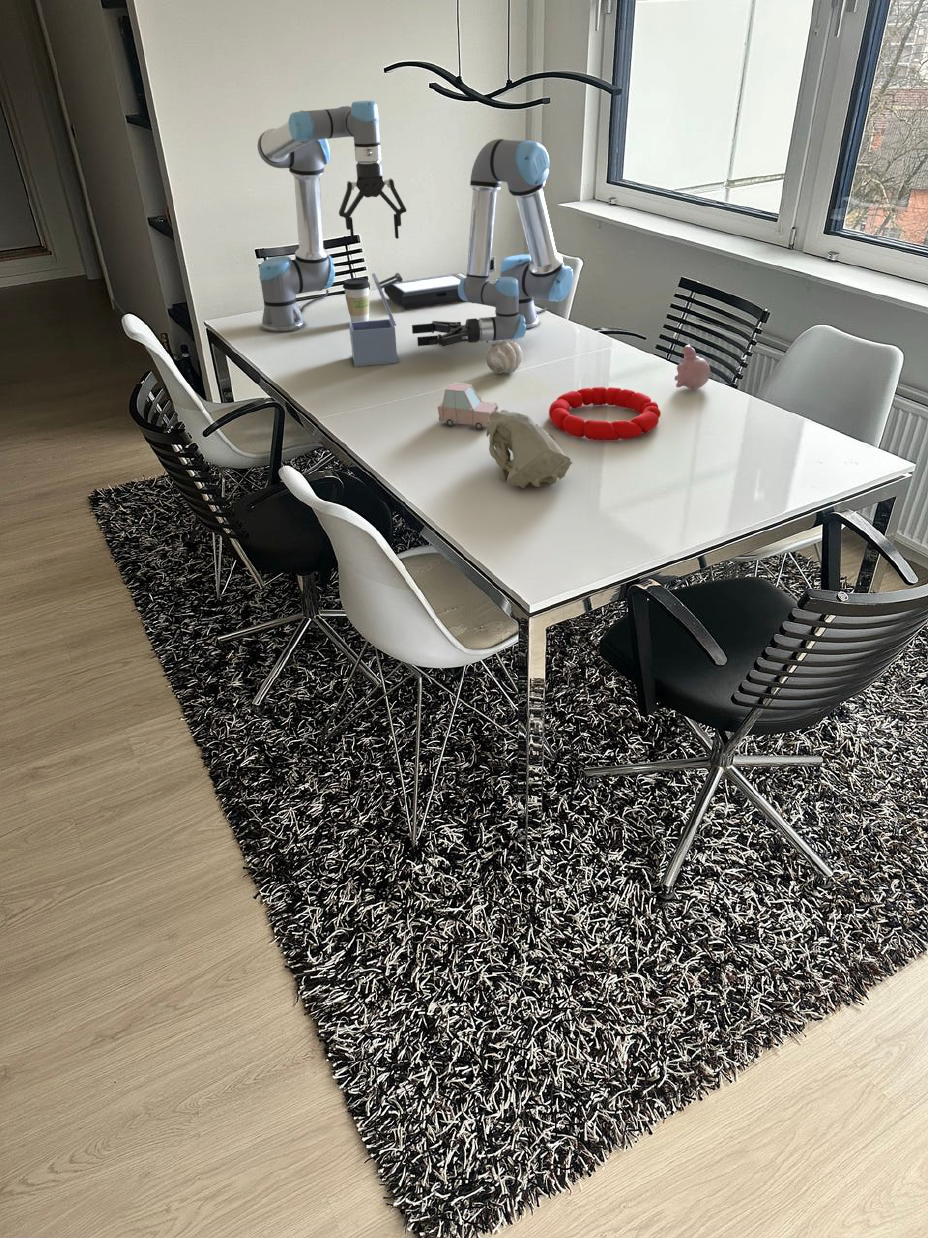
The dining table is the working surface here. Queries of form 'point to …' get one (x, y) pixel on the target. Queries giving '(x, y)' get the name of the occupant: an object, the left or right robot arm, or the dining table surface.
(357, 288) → the coffee cup
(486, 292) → the right robot arm
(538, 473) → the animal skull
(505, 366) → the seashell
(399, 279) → the lid
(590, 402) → the decorative ring
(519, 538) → the dining table surface
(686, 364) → the figurine
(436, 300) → the electronic device
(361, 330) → the chest
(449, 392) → the toy car
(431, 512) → the dining table surface
